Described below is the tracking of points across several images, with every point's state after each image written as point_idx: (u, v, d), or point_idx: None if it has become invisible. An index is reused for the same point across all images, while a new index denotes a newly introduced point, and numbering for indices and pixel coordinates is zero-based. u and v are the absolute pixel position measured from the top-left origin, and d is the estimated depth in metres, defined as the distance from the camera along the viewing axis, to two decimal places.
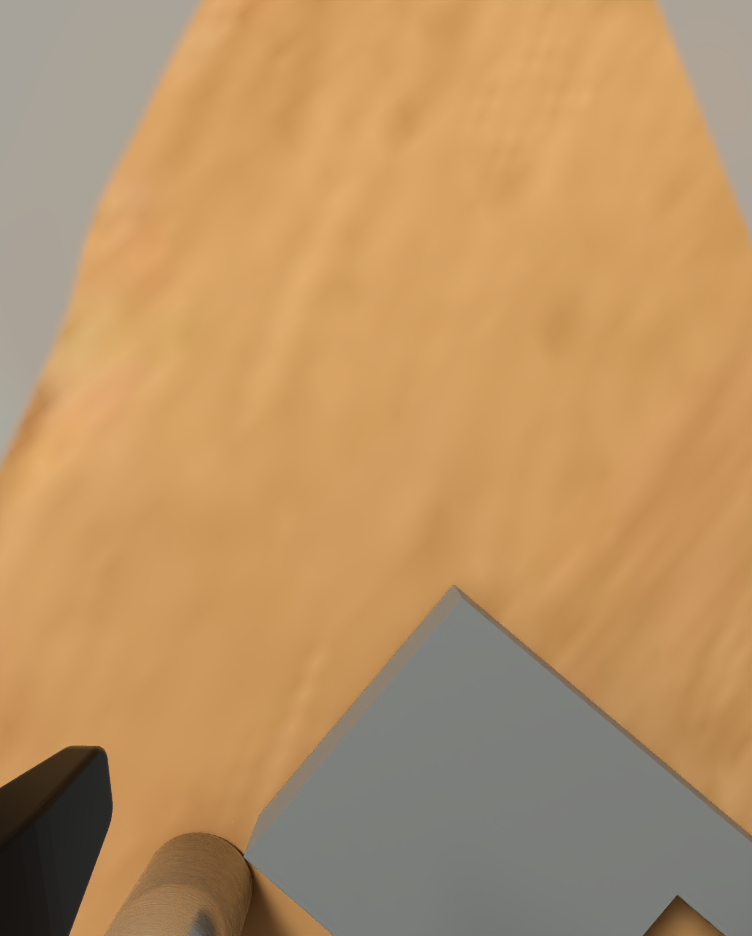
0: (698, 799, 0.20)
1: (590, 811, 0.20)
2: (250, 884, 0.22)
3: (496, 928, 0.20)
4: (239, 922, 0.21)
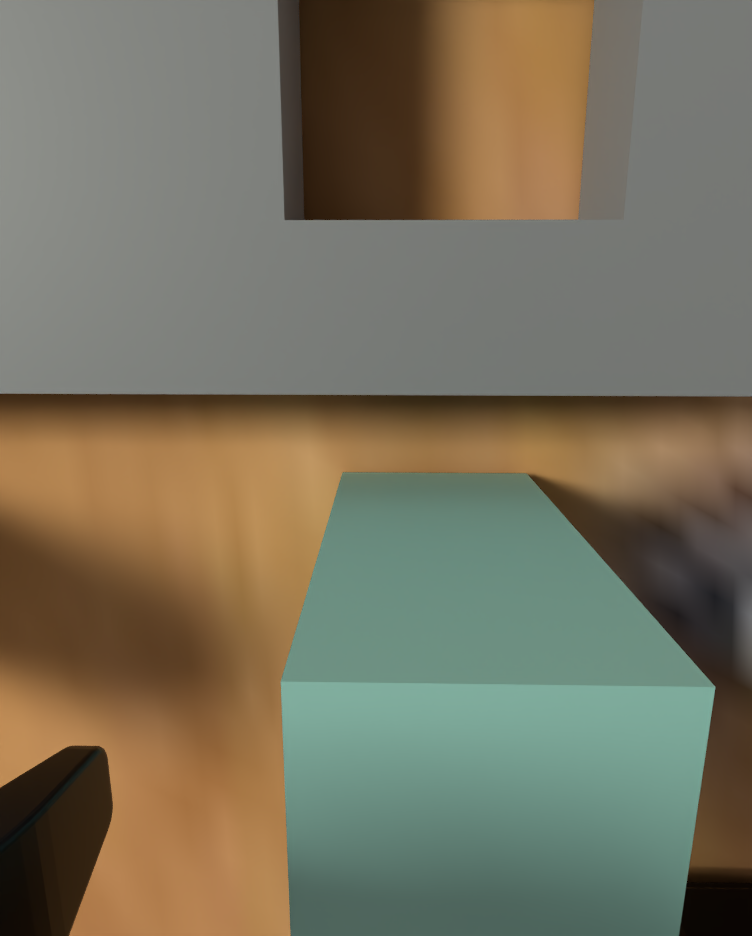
0: None
1: None
2: None
3: (51, 165, 0.10)
4: None
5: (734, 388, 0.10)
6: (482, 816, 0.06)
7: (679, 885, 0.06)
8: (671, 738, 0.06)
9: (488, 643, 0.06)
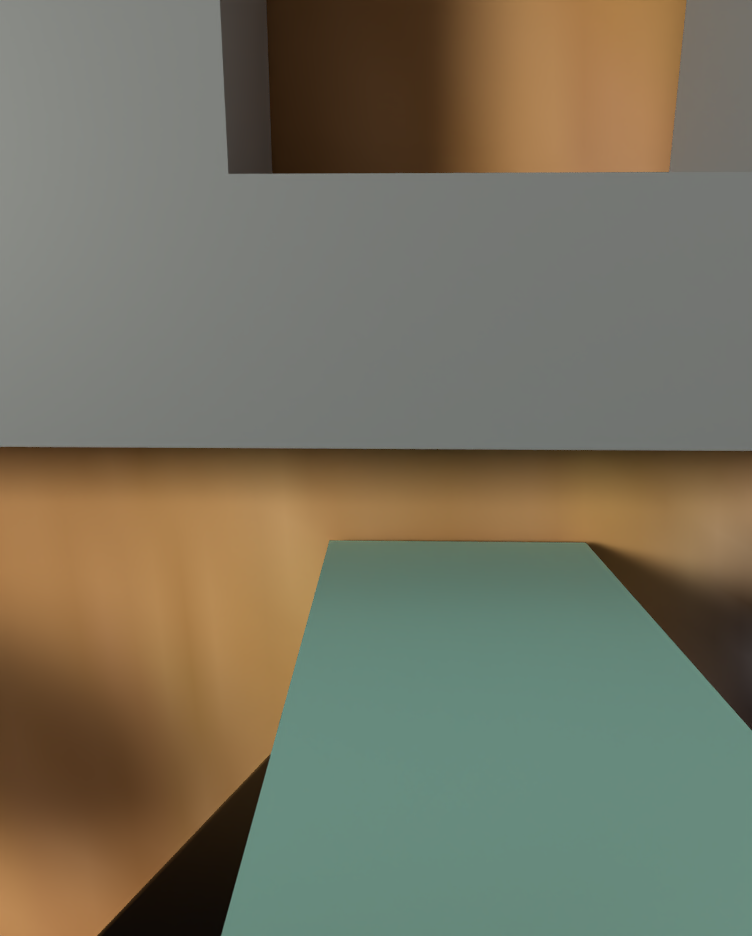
0: None
1: None
2: None
3: None
4: None
5: None
6: None
7: None
8: None
9: None
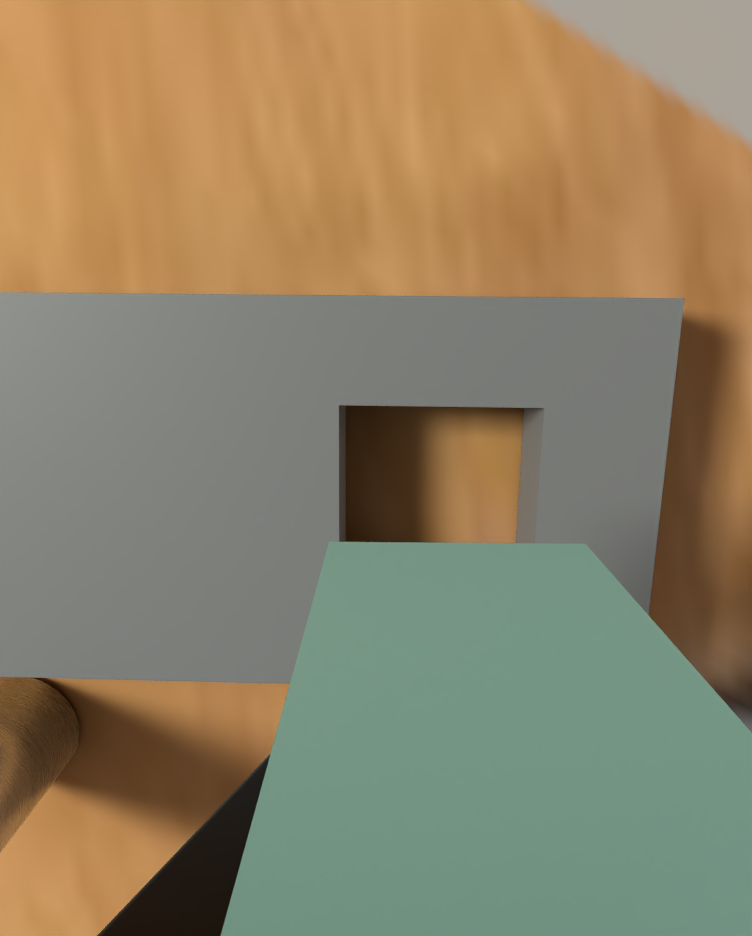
0: (282, 296, 0.16)
1: (196, 394, 0.16)
2: (52, 693, 0.21)
3: (209, 566, 0.17)
4: (27, 727, 0.19)
5: None
6: None
7: None
8: None
9: None
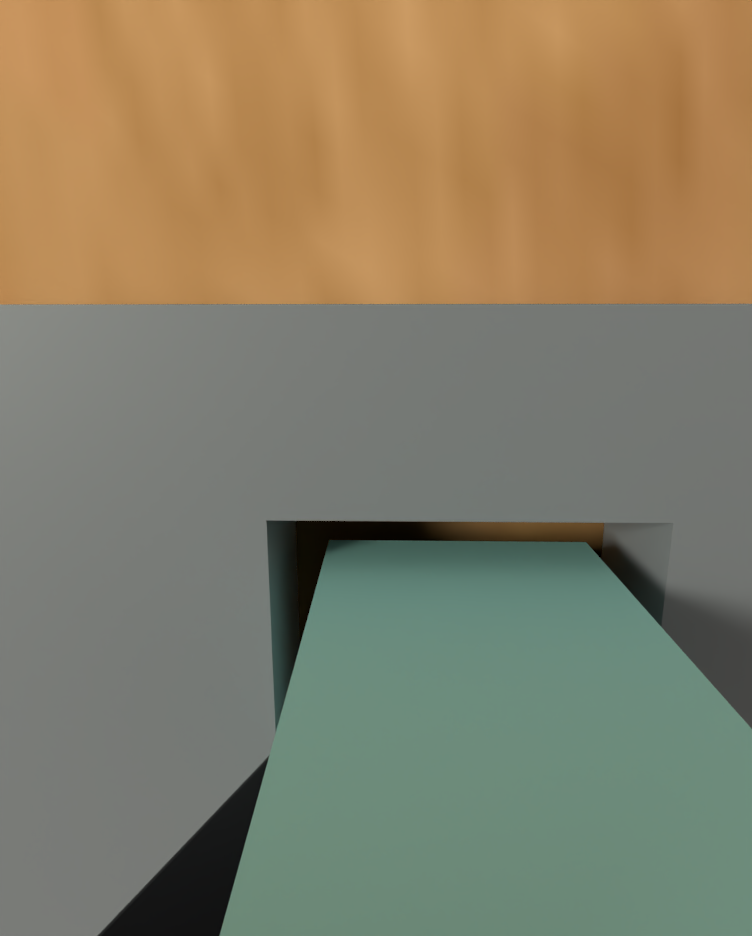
0: (141, 307, 0.08)
1: None
2: None
3: (39, 806, 0.09)
4: None
5: None
6: None
7: None
8: None
9: None
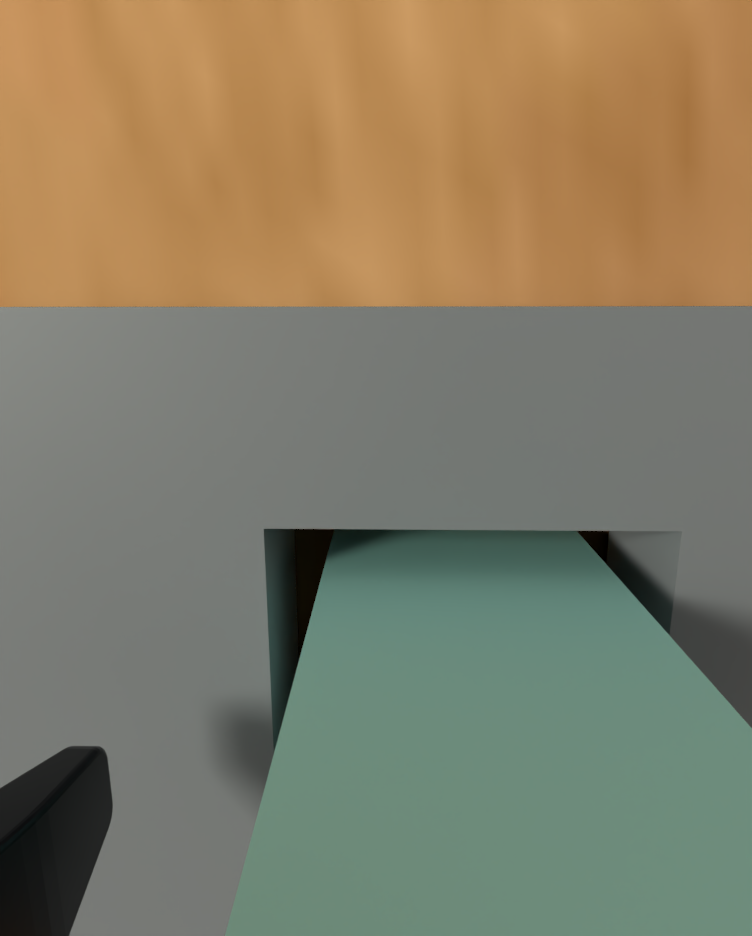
0: (135, 310, 0.07)
1: None
2: None
3: None
4: None
5: None
6: None
7: None
8: None
9: (579, 913, 0.04)
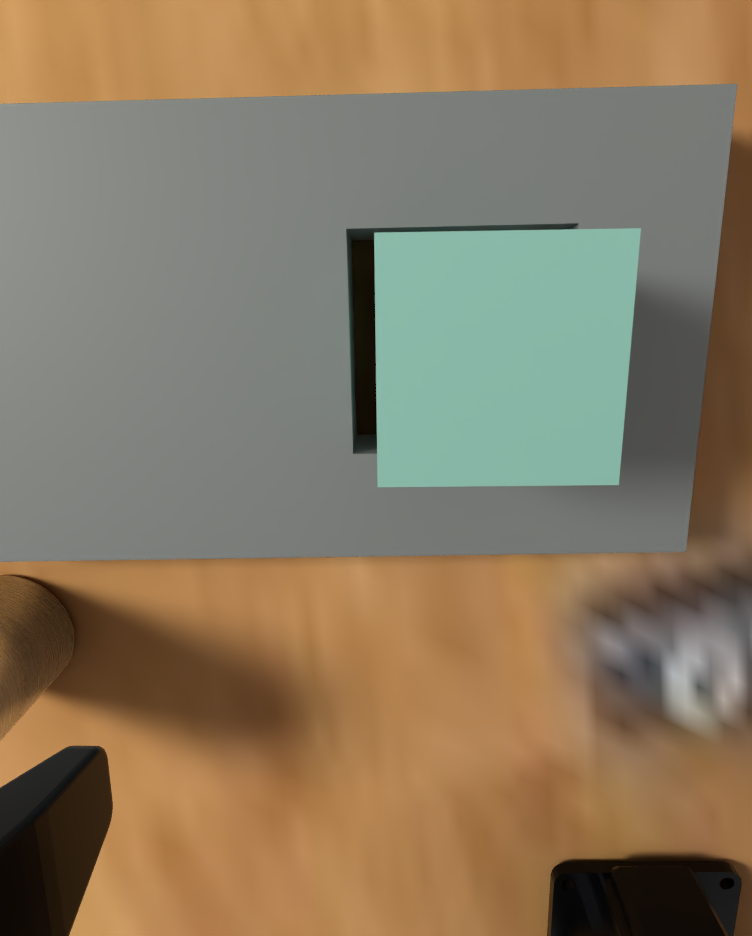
0: (277, 98, 0.14)
1: (184, 222, 0.14)
2: (42, 592, 0.19)
3: (207, 425, 0.16)
4: (15, 622, 0.18)
5: (640, 548, 0.16)
6: (498, 330, 0.10)
7: (624, 378, 0.10)
8: (615, 267, 0.09)
9: None
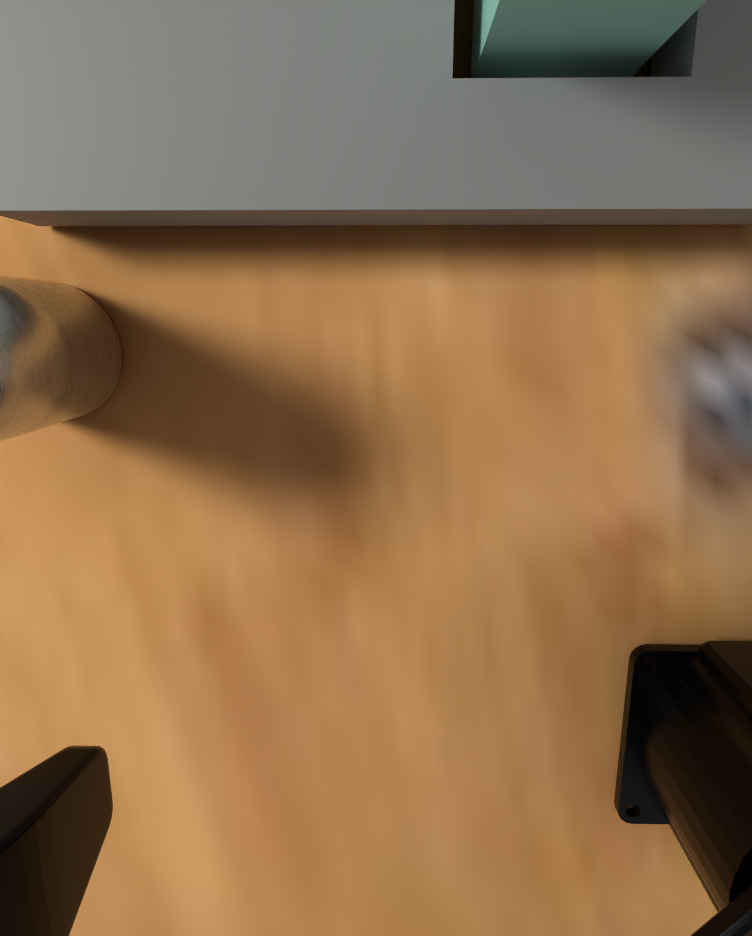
0: None
1: None
2: (90, 299, 0.18)
3: (291, 39, 0.14)
4: (63, 301, 0.16)
5: None
6: None
7: None
8: None
9: None
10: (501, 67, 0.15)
